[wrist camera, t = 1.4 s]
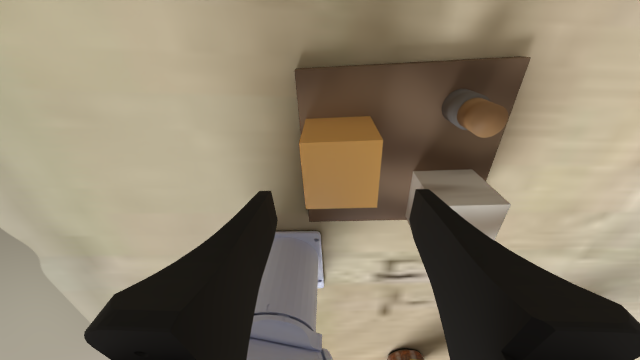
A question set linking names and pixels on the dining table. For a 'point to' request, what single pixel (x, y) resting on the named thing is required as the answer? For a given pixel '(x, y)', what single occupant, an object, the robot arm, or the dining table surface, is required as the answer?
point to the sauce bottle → (405, 355)
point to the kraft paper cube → (340, 162)
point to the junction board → (423, 130)
